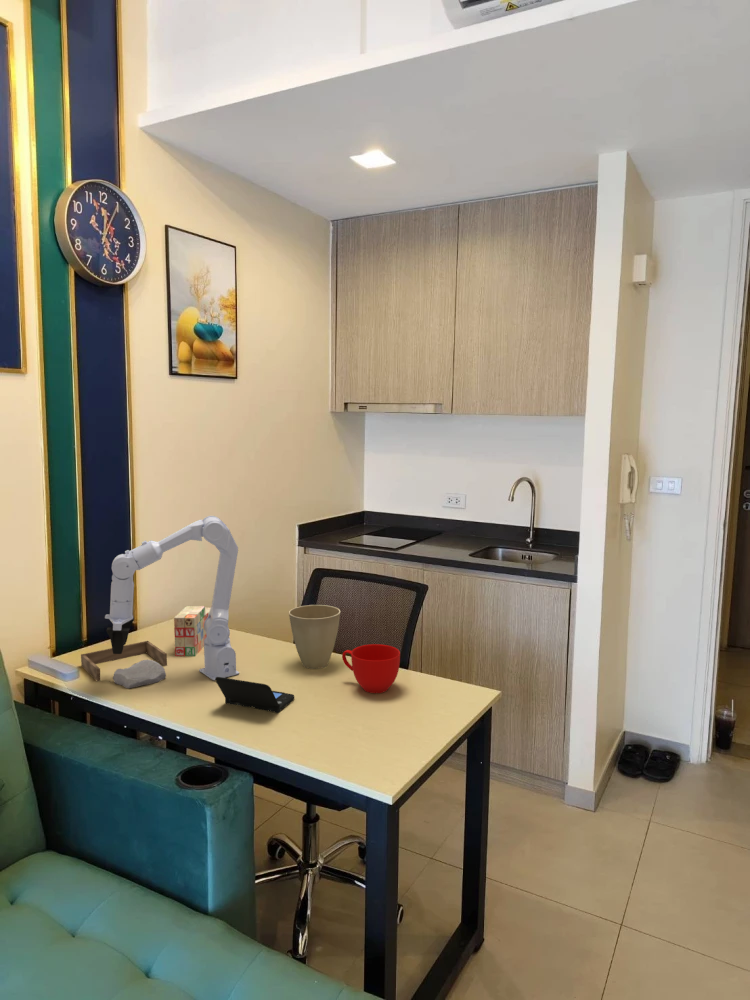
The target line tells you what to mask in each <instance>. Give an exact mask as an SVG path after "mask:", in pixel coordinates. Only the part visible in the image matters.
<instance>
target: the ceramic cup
mask: <svg viewBox="0 0 750 1000" xmlns="http://www.w3.org/2000/svg"><path fill="white" fill-rule="evenodd" d="M347 654H349V655H351V659H350V660H351V664H350V663H349V661H348V659H347V656H346V655H347ZM341 658H342V662H343V664H344V665H345V666H346V667H347V668H348V669H349V670H351V671H352V672H353V675H354V678H355V680H356V682H357V683H358V684H359V686H360V687H361V688H362V689H363V690H364V691H365V692H367V693H370V694H381V693H385V692H387V691H388V690H389V688H390V687H391V686H392V685H393V684H394V682H395V681H396V679H397V677H398V674H399V670H400V663H401V652H400V650H399V649H398V648H396V647H394V646H392V645H387V644H379V643H378V644H377V643H376V644H375V643H372V644H371V643H370V644H364V645H360V646H357V647H355V648H353V649H352V650H350V649H347V650H345V651H343V652H342V656H341Z"/></svg>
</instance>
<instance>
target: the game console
mask: <svg viewBox="0 0 750 1000" xmlns="http://www.w3.org/2000/svg"><path fill="white" fill-rule="evenodd" d="M214 681H215V682H216V685H217V686H218V688H219V689H220V691H221V693H222V695H223V697H224V698H225V699H224V700H225V701H224V702H225V704H227V705H231V706H237V707H238V706H239V707H242V708H243V707H244V708H254V709H256V710H260V711H267V712H271V713H275V714H276V713H277V714H278V713H280V711H282V710H283V709H284V708H286V707H287V706H288V705H290V704H291V703H292V702H293V701H294V700H295V695H294V694H293V693H286V692H284V691H283V692H282V691H277V690H272V688H271V687H270V685H268V684H265V683H260V682H254V681H247V680H242V679H241V680H240V679H233V678H228V677H225V678H222V677H216V678H215V680H214Z"/></svg>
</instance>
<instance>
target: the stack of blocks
mask: <svg viewBox="0 0 750 1000" xmlns="http://www.w3.org/2000/svg"><path fill="white" fill-rule="evenodd" d="M210 608H211V606H210V607H206V606H204V605H194V606H193V605H192V606H191V605H190V606H189V605H186V606H185V607H183V608H182V610H180V612H178V613H177V614H176V615H175V616H174V617H173V622H174V623H173V625H174V628H173V629H174V634H173V635H174V651H175V652H174V656H175V657H196V656H197V655H198V653H200V652H201V650H202V649H204V640H205V638H206V637H207V635H206V631H205V629H204V622H205V620H206V619H207V617H208V616H209V612H210Z"/></svg>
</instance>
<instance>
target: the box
mask: <svg viewBox="0 0 750 1000" xmlns="http://www.w3.org/2000/svg"><path fill="white" fill-rule="evenodd" d="M144 654H148V655H149V656H150V657H152V658H153V659H154V660H156V662H158V663H159V664H160V665H161V666H163V667H166V666H168V661H167V660H168V657H167V656H168V655H167V652H165V651H163V650H162V649H161V648H159V647H158V646H156V645H155V644H154V643H152V642H150V640H145V641H140V642H136V643H131V644H127V645H126V644H125V645H124V647H123V651H122V654H113V650H112V647H110V648H106V649H101V650H96V651H91V652H87V653H86V652H85V653H81V654H80V659H81V662H80V663H81V667H82V669H84V670H85V671H86V672H87V673H88V674H89V675H90V676H91V677H92V678H94V680H95V681H96V682H101V668H100V666H98V664H103V663H106V662H107V663H108V662H111V661H117V660H121V659H124V658H126V659H127V658H129V657H134V656H135V657H136V656H139V655H144Z"/></svg>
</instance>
